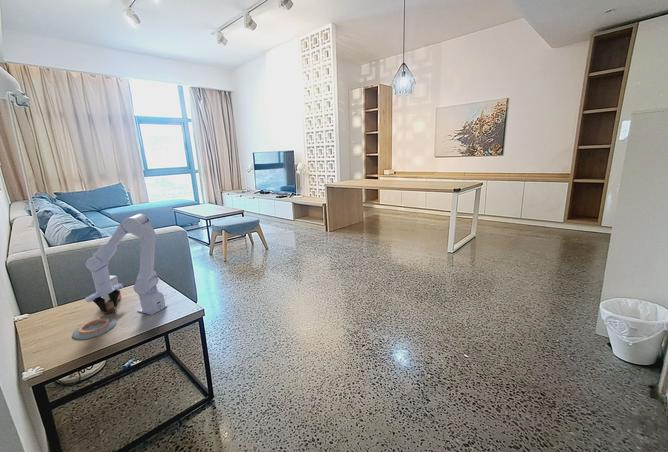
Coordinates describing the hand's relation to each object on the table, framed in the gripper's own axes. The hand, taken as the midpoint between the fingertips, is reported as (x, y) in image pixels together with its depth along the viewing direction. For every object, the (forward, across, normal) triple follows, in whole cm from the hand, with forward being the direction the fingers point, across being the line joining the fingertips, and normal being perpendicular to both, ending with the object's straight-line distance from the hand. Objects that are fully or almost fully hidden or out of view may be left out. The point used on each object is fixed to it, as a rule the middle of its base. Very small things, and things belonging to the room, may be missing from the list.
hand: (109, 309), depth 131 cm
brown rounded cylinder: (+1, 0, 0) cm, 1 cm away
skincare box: (+2, -8, -10) cm, 13 cm away
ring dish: (+2, +11, +8) cm, 14 cm away
